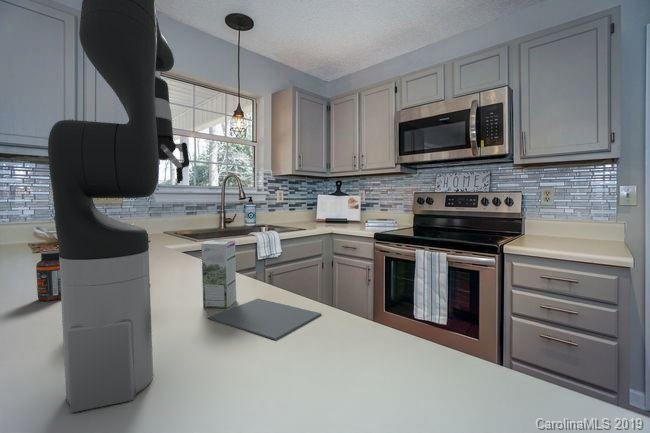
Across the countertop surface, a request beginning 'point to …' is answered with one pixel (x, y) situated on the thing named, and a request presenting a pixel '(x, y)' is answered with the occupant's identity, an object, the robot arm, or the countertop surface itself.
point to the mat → (265, 318)
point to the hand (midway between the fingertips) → (160, 183)
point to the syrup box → (218, 273)
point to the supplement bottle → (49, 276)
